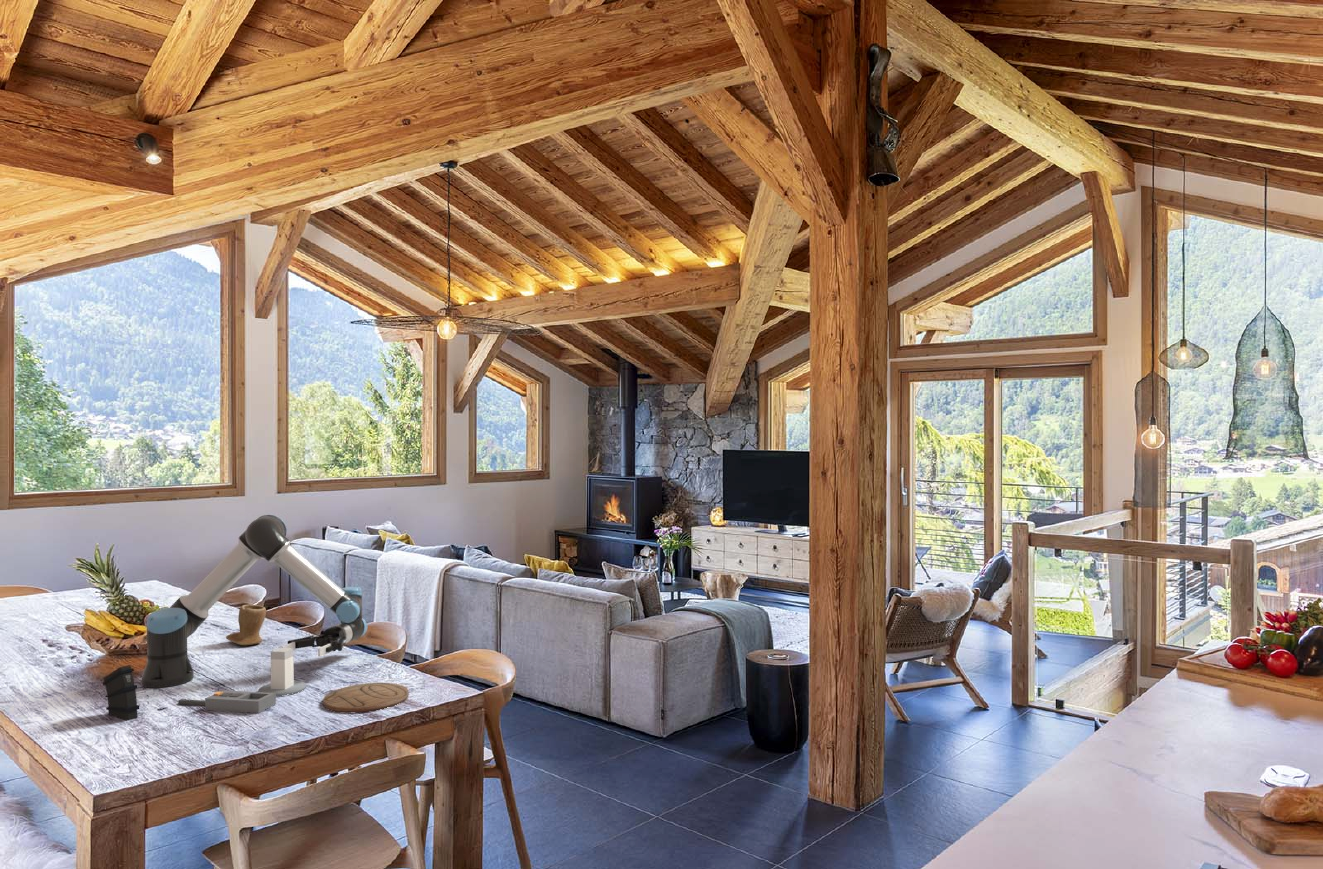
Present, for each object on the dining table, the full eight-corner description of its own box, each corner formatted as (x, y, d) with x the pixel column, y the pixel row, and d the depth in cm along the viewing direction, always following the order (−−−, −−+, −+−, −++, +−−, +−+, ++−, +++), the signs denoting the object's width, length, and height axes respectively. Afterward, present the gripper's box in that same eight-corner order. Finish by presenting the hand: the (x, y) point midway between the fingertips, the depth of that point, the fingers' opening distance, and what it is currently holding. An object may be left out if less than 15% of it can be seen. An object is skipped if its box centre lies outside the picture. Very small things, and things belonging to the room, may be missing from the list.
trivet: (348, 720, 246) (348, 713, 246) (308, 702, 263) (308, 696, 263) (424, 699, 265) (424, 693, 265) (382, 683, 282) (382, 678, 282)
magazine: (131, 717, 244) (118, 667, 248) (110, 729, 251) (98, 680, 254) (144, 713, 248) (132, 664, 251) (124, 725, 254) (112, 677, 257)
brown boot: (271, 643, 336) (270, 605, 336) (239, 649, 327) (238, 610, 327) (256, 637, 346) (255, 600, 346) (225, 642, 338) (224, 604, 338)
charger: (271, 688, 273) (270, 651, 273) (279, 684, 277) (279, 647, 277) (285, 689, 272) (284, 651, 272) (293, 685, 276) (293, 648, 276)
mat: (250, 691, 274) (250, 688, 274) (293, 681, 284) (293, 678, 284) (270, 699, 265) (270, 696, 265) (314, 689, 275) (314, 686, 275)
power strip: (170, 707, 258) (170, 694, 258) (189, 699, 266) (189, 686, 266) (258, 713, 252) (258, 699, 252) (275, 704, 260) (275, 691, 260)
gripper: (368, 648, 302) (334, 664, 282) (305, 645, 307) (267, 661, 286) (368, 627, 302) (334, 641, 282) (304, 624, 307) (267, 638, 286)
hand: (300, 651), depth 284 cm, fingers open, 13 cm apart
